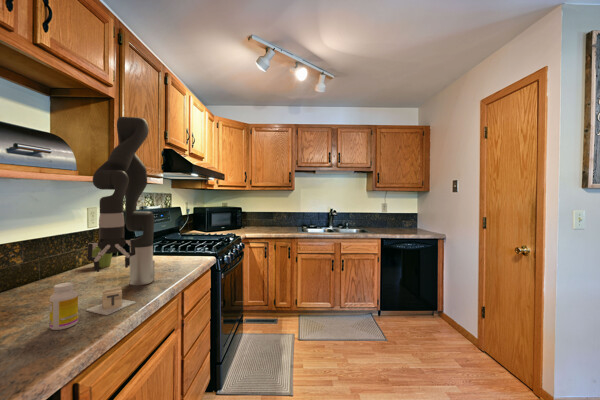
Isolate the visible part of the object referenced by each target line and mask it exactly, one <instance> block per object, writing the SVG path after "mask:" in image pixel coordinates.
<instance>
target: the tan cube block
mask: <svg viewBox="0 0 600 400" xmlns="http://www.w3.org/2000/svg"><path fill="white" fill-rule="evenodd" d="M101 294H102V297H101V298H102V303H101V304H102V305H103V310H106V309H110V308H115V307H120V306H122V299H123V289H122V287H121V286H118V287H111V288H106V289H102V293H101Z"/></svg>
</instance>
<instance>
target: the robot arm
mask: <svg viewBox="0 0 600 400" xmlns="http://www.w3.org/2000/svg"><path fill="white" fill-rule="evenodd" d="M116 130H117V136H118V137H117V138H118V142H119V144H118V145H117V146H115V147H113V149H112V150H111V153H110V154H109V157H108V159H107V160H106V161H105V162H104V163H103V164H102V165H101V166H99V168H97V169H96V170H95V171H94V173H93V176H92V185H94V187H95V188H96V189H99V190H106V191H107V190H112V191H113V193H112V194H111V195H106V196H101V198H100V199H99V217H98V242H88V244H87V254H86V255H87V258H86V259H87V261H88V262H94V263H93V270H94V271H96V273H99V272H100V267H99V259H100V258H101V257H102V256H103V255H104V253H106V254H110V253H112V254H117V253H121V254H122V255H123V256H125V257H124V267H125V269H126V268H127V269H128V268H129V285H130V286H144V285H148V284H150V283H152V282H153V281H155V270H156V268H155V267H156V265H155V263H156V262H155V260H154V247H153V246H154V233H155V232H154V230H155V215H154V213H153V212H152V211H137V205H138V201H139V198H140V197H141V195H143V192H144V191H145V189H146V187H147V186H148V171H147V168H146V165H145V164H144V163H143V161H142V160H141V158H139V156H138V155H137V154H136V153H137V152H138V150H139V149H140V147H142V144H143V143H144V142H145V141H146V139H147V137H148V135H149V124H148V121H147V120H146V119H145V118H142V117H137V116H136V117H135V116H131V117H130V116H119V117H117V121H116ZM124 200H125V201H124ZM124 203H125V208H124ZM124 209H125V212H124ZM124 214H125V216H124ZM125 227H126V229H127V230H128V231H129V232H142V235H141V236H139V237H137V238H131V239H125ZM126 244H127V245H128V246H129V252H127V250H126V249H125V248H124V246H126ZM96 246H98V247H99V248H100V249H101V250H100V251H99V253H98V254H97V255H96V256H95V257H92V249H95V247H96Z"/></svg>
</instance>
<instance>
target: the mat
mask: <svg viewBox="0 0 600 400" xmlns="http://www.w3.org/2000/svg"><path fill="white" fill-rule="evenodd" d="M136 303H137V302H136V301H133V300H128V299H123V298H122V306H120V307H115V308H110V309H106V310H103V305H102V303H101V304H98V305H94V306H92V307H90V308H86V309H85V311H86V312H90V313H95V314H99V315H104V316H108V315H111V314H113V313H115V312H118V311H120V310H123V309H125V308H127V307H128V308H129V306H133V305H134V304H136Z"/></svg>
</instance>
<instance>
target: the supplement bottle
mask: <svg viewBox="0 0 600 400" xmlns="http://www.w3.org/2000/svg"><path fill="white" fill-rule="evenodd" d="M74 287H75V283H74V282H72V281H71V282H62V283H58V284H56V285H54V286H53V291H54V293H53V294H51V295H50V297H49V329H51V330H53V331H58V330H65V329H69V328H72V327H73V326H75V325H76V324H77V323H78V322H79V293H78V291H77V290H74Z"/></svg>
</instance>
